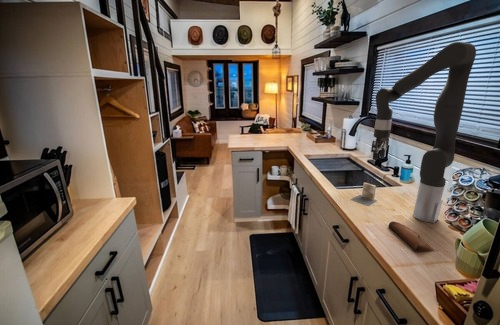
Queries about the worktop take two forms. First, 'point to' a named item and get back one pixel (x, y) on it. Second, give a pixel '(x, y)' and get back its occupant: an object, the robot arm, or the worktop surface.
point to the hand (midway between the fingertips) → (378, 158)
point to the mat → (363, 200)
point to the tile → (368, 191)
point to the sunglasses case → (411, 237)
